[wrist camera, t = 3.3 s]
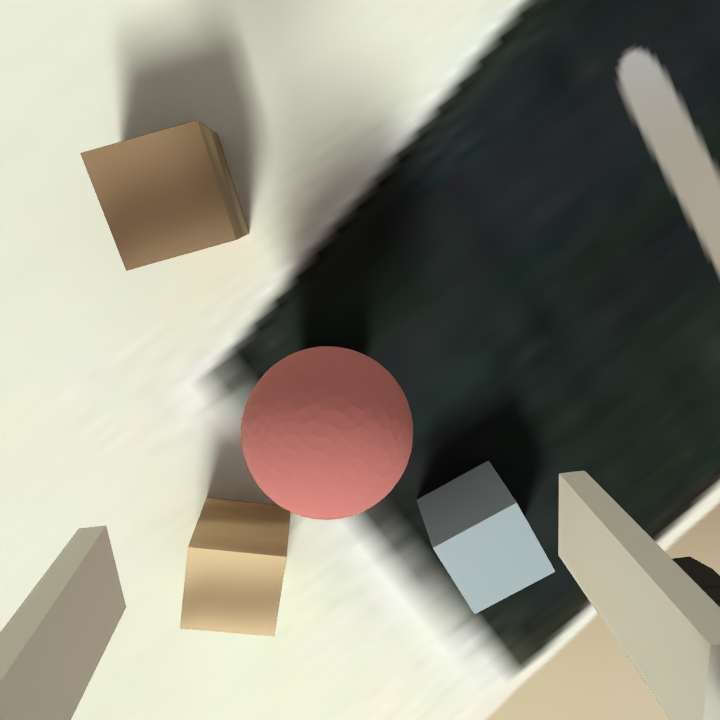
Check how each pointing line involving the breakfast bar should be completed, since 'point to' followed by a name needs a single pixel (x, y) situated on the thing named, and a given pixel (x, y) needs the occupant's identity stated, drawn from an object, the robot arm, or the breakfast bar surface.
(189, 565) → the oak block
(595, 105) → the breakfast bar surface
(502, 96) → the breakfast bar surface
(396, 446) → the light bulb
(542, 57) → the breakfast bar surface
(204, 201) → the walnut block
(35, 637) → the robot arm
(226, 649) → the breakfast bar surface
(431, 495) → the slate-blue painted block
